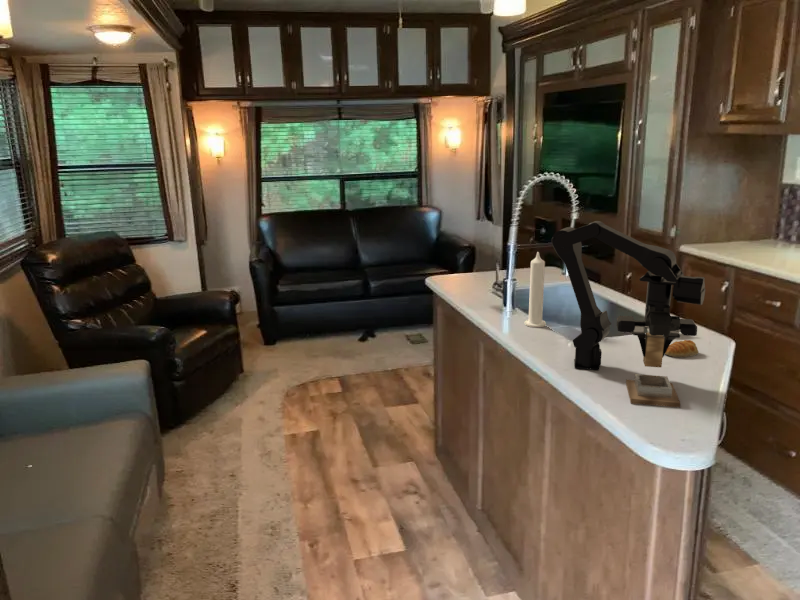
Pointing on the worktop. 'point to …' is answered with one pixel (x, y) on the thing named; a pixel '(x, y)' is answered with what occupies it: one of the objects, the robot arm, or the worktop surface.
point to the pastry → (682, 349)
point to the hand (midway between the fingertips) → (652, 356)
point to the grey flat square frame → (653, 386)
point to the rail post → (653, 350)
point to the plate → (648, 400)
